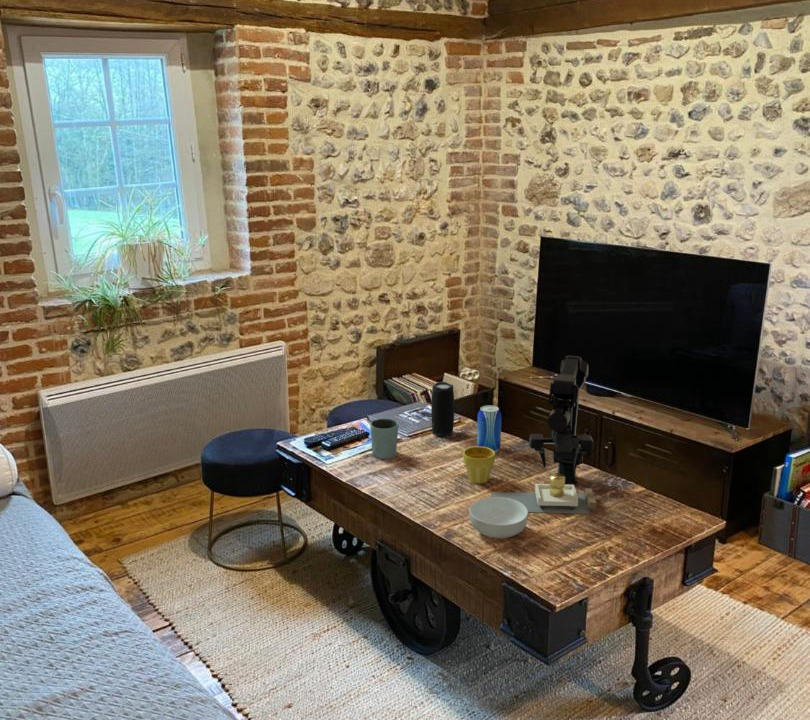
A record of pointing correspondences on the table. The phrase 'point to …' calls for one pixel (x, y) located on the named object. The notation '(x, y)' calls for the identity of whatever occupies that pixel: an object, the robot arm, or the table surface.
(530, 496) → the mat
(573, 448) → the robot arm
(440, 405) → the portable speaker
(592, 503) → the end stop
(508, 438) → the table surface
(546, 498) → the shallow square tray
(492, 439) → the beer can
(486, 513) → the cereal bowl
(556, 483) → the solid brass cylinder
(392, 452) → the green cup
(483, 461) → the plant pot
